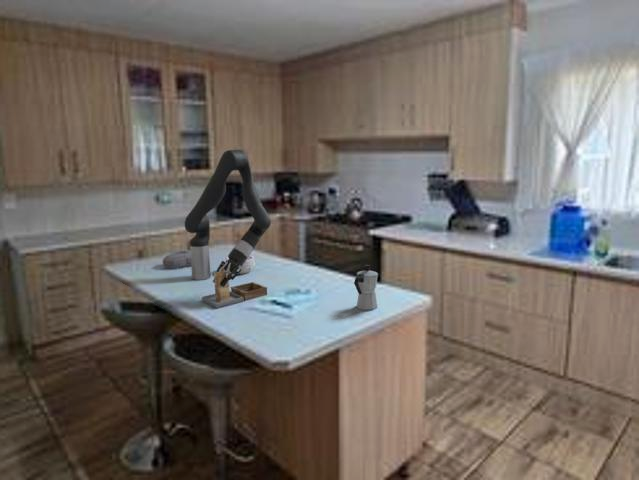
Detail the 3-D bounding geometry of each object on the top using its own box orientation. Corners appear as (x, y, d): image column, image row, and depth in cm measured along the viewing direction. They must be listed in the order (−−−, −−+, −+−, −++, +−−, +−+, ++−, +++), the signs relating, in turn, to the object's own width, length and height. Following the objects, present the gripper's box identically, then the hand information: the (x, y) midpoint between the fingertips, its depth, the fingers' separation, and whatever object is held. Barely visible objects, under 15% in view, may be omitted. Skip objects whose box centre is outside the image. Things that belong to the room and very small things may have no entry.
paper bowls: (252, 275, 236) (251, 260, 234) (223, 275, 236) (222, 261, 235) (257, 268, 251) (256, 254, 249) (229, 268, 251) (229, 254, 249)
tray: (202, 301, 197) (201, 296, 196) (228, 294, 205) (228, 290, 205) (216, 308, 187) (216, 304, 187) (243, 301, 196) (243, 297, 195)
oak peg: (215, 299, 196) (214, 272, 194) (224, 297, 199) (223, 271, 197) (220, 302, 193) (219, 274, 191) (229, 299, 196) (228, 273, 194)
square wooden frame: (231, 294, 205) (231, 287, 205) (253, 289, 213) (252, 282, 212) (245, 300, 197) (244, 292, 196) (267, 294, 204) (266, 287, 204)
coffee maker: (366, 300, 195) (366, 260, 191) (384, 305, 190) (384, 263, 186) (346, 310, 184) (346, 267, 180) (364, 315, 178) (364, 271, 175)
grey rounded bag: (190, 260, 270) (158, 266, 257) (189, 247, 268) (157, 252, 255) (203, 265, 259) (169, 271, 246) (202, 251, 257) (168, 256, 244)
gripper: (226, 245, 202) (204, 276, 196) (244, 250, 191) (220, 283, 186) (237, 254, 206) (215, 285, 201) (255, 260, 196) (232, 292, 190)
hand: (218, 284), depth 193 cm, fingers open, 5 cm apart
